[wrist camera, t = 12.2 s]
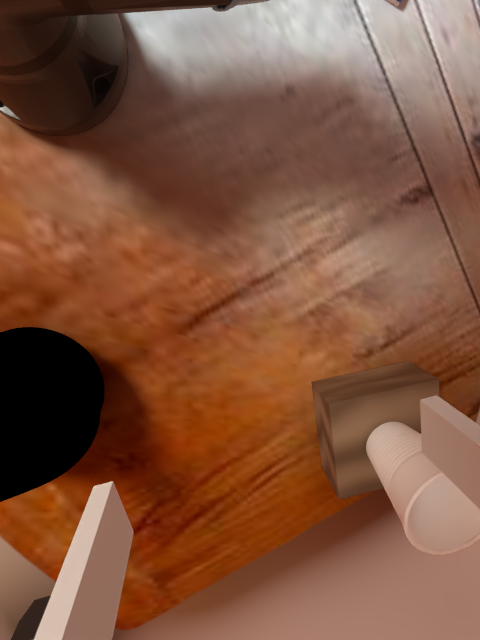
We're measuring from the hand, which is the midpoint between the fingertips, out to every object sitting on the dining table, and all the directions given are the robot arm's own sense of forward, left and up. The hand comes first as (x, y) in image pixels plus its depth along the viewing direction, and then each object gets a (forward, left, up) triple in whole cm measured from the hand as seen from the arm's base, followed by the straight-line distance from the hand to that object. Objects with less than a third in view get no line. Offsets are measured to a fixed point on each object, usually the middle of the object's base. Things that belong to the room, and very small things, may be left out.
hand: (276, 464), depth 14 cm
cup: (+19, +17, -22) cm, 33 cm away
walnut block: (+19, +17, -28) cm, 37 cm away
